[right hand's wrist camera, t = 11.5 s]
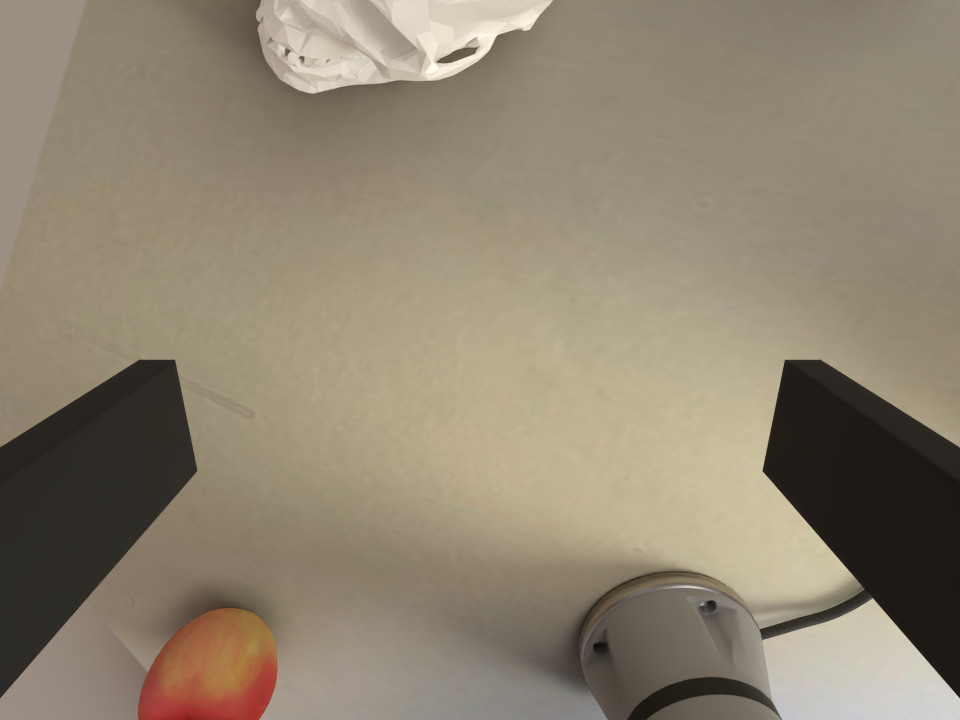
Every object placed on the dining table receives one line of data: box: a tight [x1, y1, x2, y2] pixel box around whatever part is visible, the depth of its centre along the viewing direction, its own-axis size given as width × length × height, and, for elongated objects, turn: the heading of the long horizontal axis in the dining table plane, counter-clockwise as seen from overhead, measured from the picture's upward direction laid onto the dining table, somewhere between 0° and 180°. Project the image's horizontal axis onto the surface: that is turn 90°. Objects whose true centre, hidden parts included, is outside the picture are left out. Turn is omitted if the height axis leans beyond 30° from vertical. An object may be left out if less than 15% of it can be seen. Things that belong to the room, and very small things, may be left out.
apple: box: [138, 608, 277, 720], centre depth 45 cm, size 10×10×10 cm
